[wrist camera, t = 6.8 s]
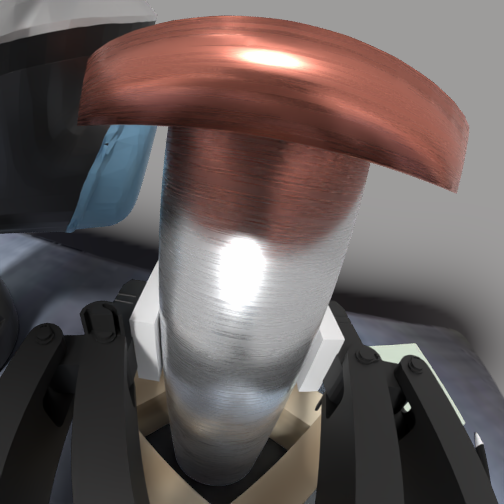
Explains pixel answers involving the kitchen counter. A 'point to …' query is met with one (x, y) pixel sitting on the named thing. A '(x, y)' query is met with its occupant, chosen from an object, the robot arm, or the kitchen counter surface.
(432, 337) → the kitchen counter surface
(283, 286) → the steel peg
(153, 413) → the block
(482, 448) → the pen
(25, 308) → the kitchen counter surface
